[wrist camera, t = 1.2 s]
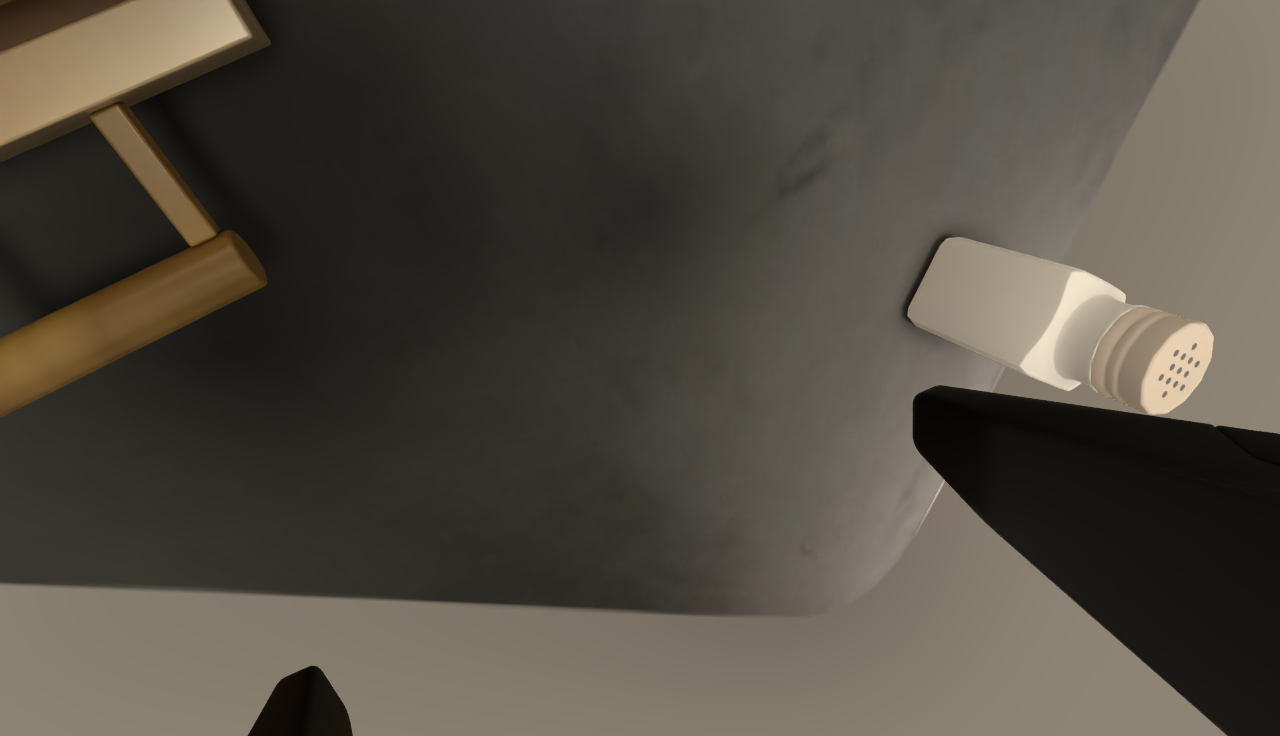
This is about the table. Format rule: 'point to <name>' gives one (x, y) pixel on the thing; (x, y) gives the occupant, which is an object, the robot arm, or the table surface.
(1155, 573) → the robot arm
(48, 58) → the drawer
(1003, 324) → the pepper shaker
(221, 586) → the table surface
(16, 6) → the cabinet
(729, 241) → the table surface
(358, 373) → the table surface
